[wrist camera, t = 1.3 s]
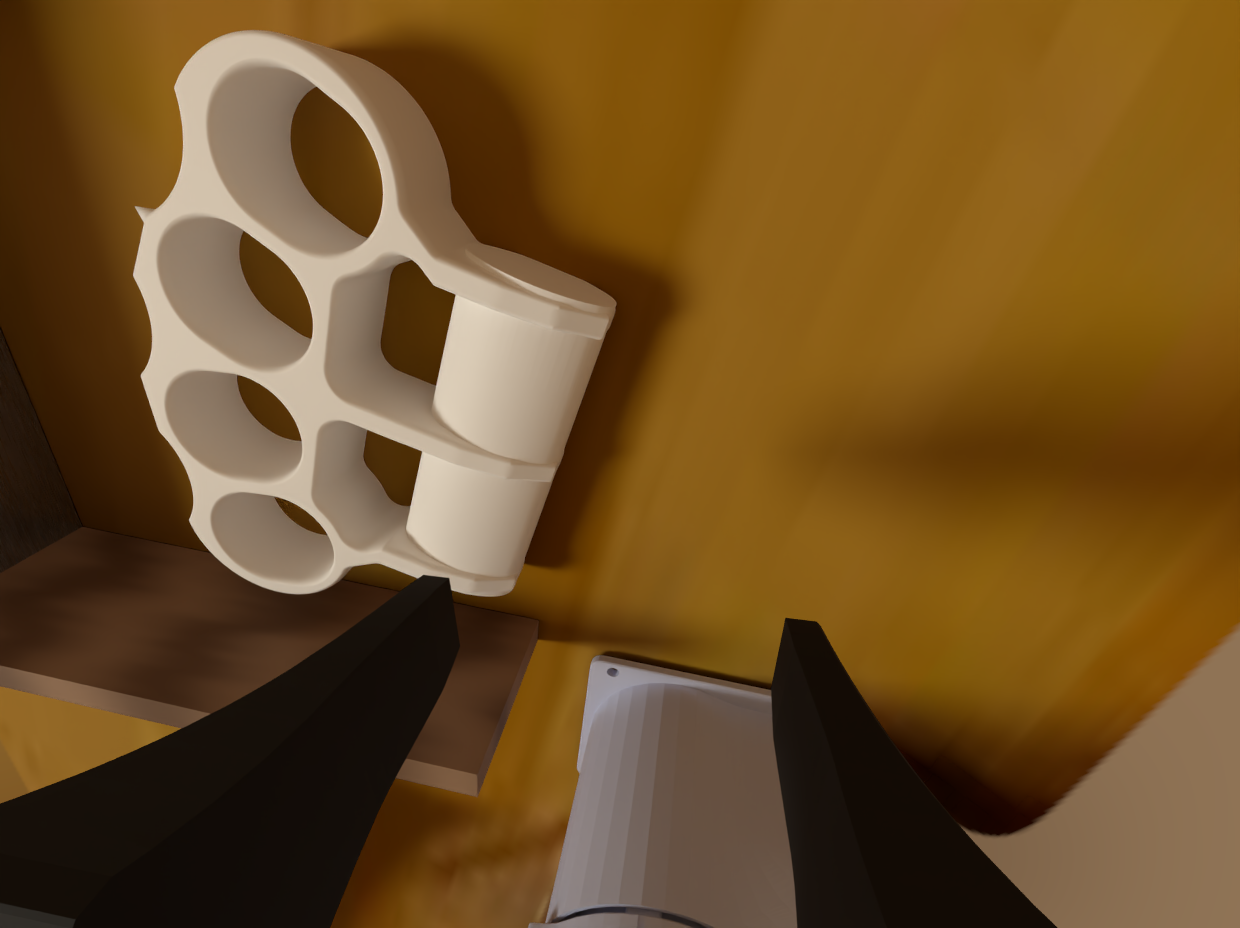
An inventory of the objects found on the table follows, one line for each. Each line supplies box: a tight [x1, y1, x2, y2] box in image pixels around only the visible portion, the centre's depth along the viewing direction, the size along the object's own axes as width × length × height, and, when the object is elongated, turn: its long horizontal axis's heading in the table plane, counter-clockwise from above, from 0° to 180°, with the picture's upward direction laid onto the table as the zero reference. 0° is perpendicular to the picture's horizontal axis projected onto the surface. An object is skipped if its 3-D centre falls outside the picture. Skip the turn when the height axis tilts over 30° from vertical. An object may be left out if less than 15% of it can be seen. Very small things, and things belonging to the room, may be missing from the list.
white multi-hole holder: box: [133, 30, 617, 596], centre depth 19 cm, size 3×18×15 cm
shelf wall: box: [0, 527, 539, 797], centre depth 17 cm, size 23×23×7 cm
